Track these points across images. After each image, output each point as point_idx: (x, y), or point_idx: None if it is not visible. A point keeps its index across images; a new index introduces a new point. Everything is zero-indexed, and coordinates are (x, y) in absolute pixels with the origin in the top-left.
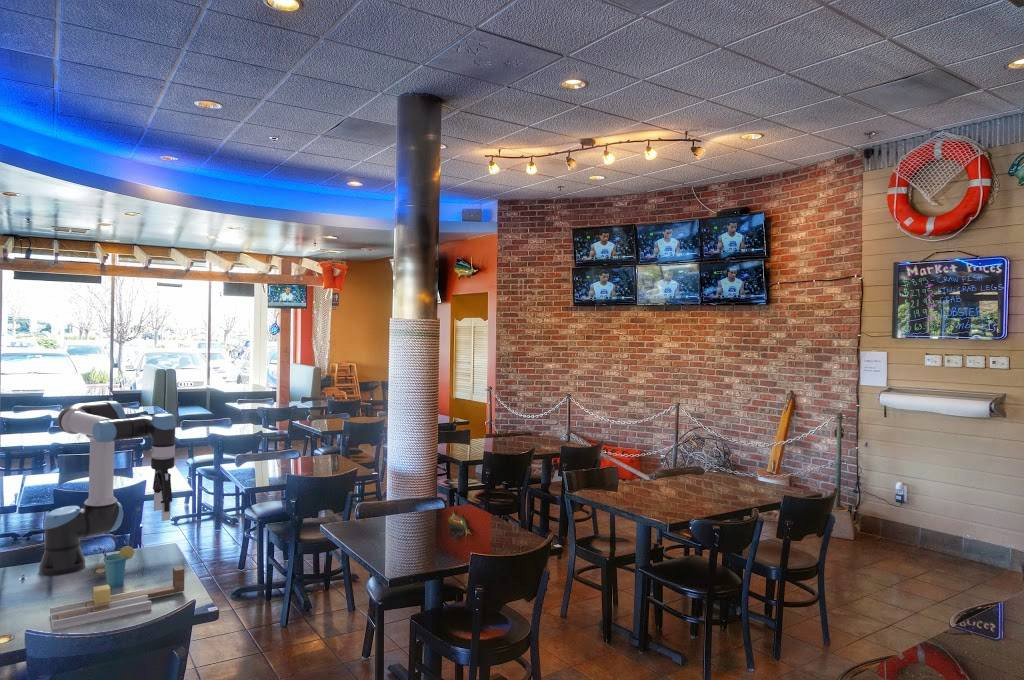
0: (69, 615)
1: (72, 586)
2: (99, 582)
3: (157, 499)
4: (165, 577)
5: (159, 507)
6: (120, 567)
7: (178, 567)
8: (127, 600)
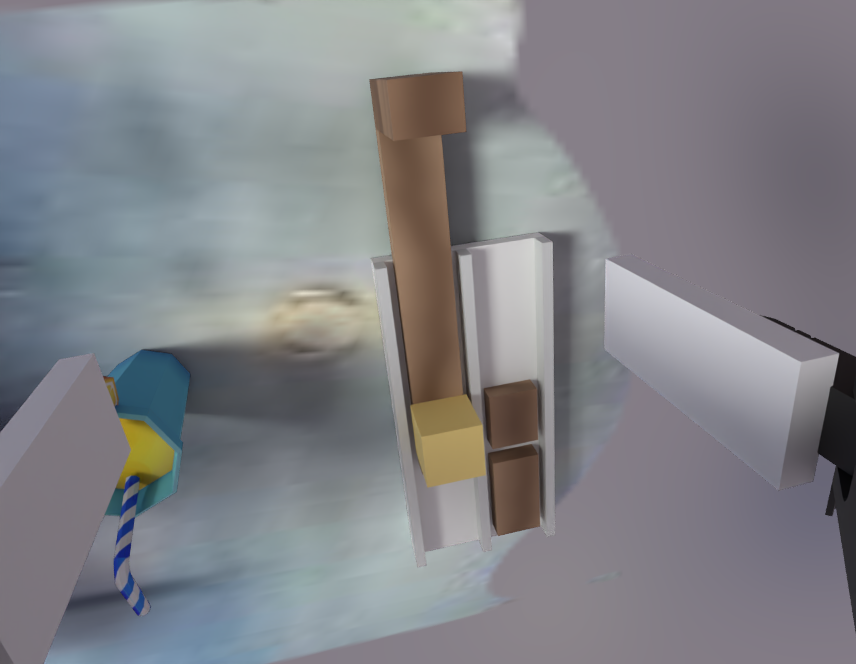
0: (529, 501)
1: (104, 534)
2: None
3: (62, 530)
4: (103, 146)
5: (92, 409)
6: (167, 409)
7: (413, 106)
8: (476, 332)
